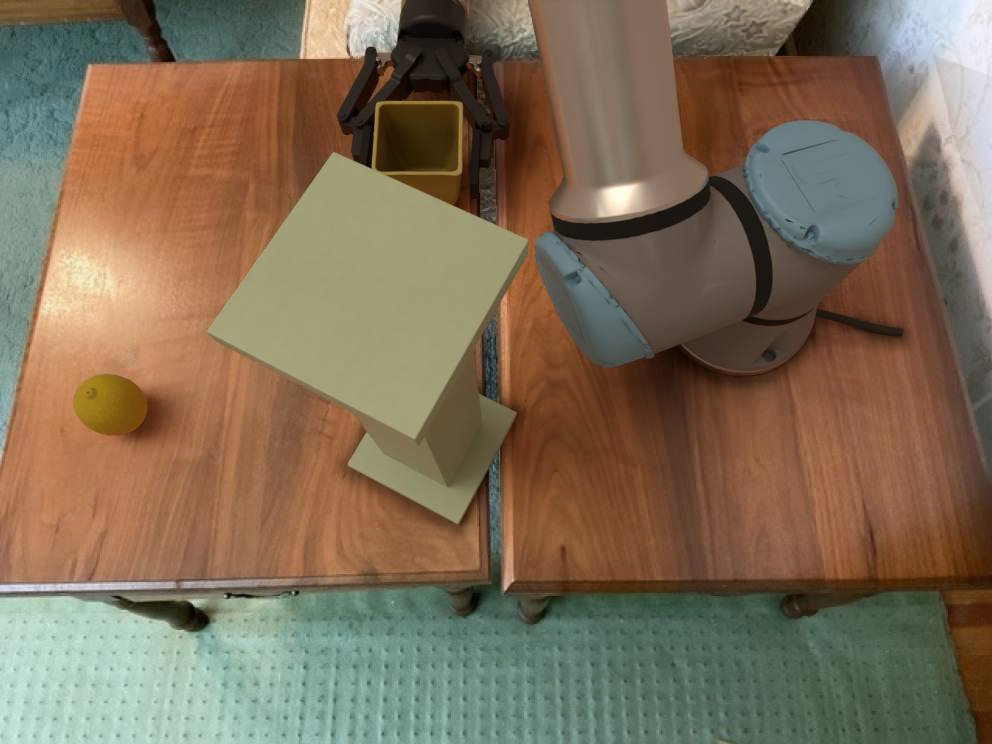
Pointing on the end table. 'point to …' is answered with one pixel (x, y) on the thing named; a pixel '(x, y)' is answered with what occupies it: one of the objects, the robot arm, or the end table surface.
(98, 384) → the lemon
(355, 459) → the plant stand
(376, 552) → the end table surface
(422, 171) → the flower pot
